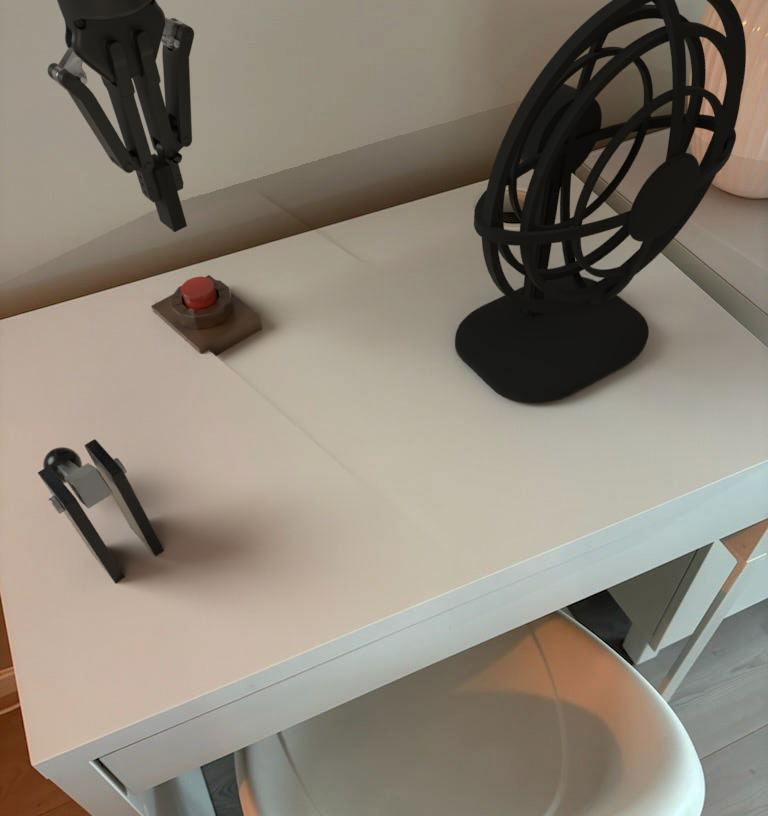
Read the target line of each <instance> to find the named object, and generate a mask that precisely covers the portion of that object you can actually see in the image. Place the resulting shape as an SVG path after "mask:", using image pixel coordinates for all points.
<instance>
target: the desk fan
mask: <svg viewBox="0 0 768 816" xmlns="http://www.w3.org/2000/svg"><path fill="white" fill-rule="evenodd" d="M706 1H707V2H708V4H710V5H711V6H712V8H713V9H714V10H715V12H716V13H717V15H718V17H719V19H720V22H721V24H722V26H723V29H724V32H725V35H724V34H723V33H722V32H720V31H718V30H717V29H715V28H713V27H710V26H708V25H705V24H704V23H700V22H696V21H690V20H689V19H688V18H686V17H685V16H684V15H683V14H681V13H680V10H679V6H678V4H677V2H676V0H610V1H609V2H608V3H606V4H605V5H603V6H602V7H601V8H600V9H599V10H597V11H596V12H594V14H592V15H591V16H590V17H589V18H588V19H586V21H584V22H583V23H582V24H581V25H580V26H579V27H578V28H577V29H576V30H575V31H574V32H573V33H572V34H571V35H570V36H569V37H568V39H567V40H566V41H565V42H564V43H563V44H562V45H561V46H560V47H559V48H558V50H557V51H556V52H555V53H554V54H553V55H552V57H551V58H550V59H549V61H548V62H547V63H546V65H545V66H544V68H542V70H541V71H540V73H539V74H538V76H537V77H536V79H535V80H534V82H533V83H532V85H531V86H530V88H529V90H528V91H527V92H526V94H525V95H524V97H523V99H522V101H521V103H520V104H519V106H518V108H517V110H516V112H515V113H514V115H513V117H512V119H511V121H510V124H509V126H508V127H507V130H506V132H505V134H504V136H503V138H502V140H501V143H500V146H499V149H498V151H497V153H496V156H495V159H494V162H493V165H492V168H491V171H490V174H489V178H488V182H487V186H486V190H484V192H483V193H482V194H481V196H480V197H479V198H478V200H477V202H476V204H475V206H474V213H473V228H474V230H475V232H476V234H477V235H478V236H479V237H481V247H482V253H483V258H484V263H485V267H486V269H487V271H488V274H489V276H490V279H491V280H492V282H493V284H494V285H495V287H496V288H497V289H498V290H499V291H500V292H501V293H502V294H503V295H502V296H501V297H498V298H496V299H493V300H492V301H490V302H488V303H487V302H486V303H485V304H482V305H481V306H479V307H477V308H476V309H474V310H473V311H471V312H470V313H469V314H467V315H466V316H465V317H464V318H463V320H462V321H461V322H460V323H459V324H458V326H457V329H456V332H455V334H454V335H455V336H454V349H455V352H456V353H457V356H458V357H459V358H460V359H461V361H462V362H463V363H464V364H466V365H467V366H468V367H469V368H470V369H471V370H472V371H473V372H474V373H475V374H476V375H477V376H478V377H479V378H480V379H481V380H482V381H483V382H484V383H485V384H486V385H487V386H488V387H489V388H490V389H491V390H493V392H495V393H496V394H498V395H500V396H501V397H503V398H505V399H508V400H509V401H514V402H519V403H523V404H524V403H526V404H543V403H550V402H555V401H558V400H561V399H565V398H567V397H569V396H572V395H573V394H576V393H578V392H580V391H581V390H584V389H585V388H587V387H589V386H591V385H593V384H594V383H597V382H598V381H601V380H602V379H604V378H606V377H608V376H610V375H612V374H614V373H615V372H617V371H619V370H621V369H623V368H625V367H627V366H628V365H629V364H631V363H633V361H635V360H636V359H637V358H638V357H639V356H640V355H641V353H643V351H644V350H645V347H646V344H647V343H648V338H649V334H650V333H649V332H650V330H649V325H648V322H647V320H646V318H645V317H644V315H642V313H641V312H639V311H638V309H636V308H634V307H633V306H632V305H631V304H629V303H628V302H627V301H625V300H624V299H622V298H621V297H620V296H619V294H620V293H621V292H623V291H624V289H625V288H626V287H627V286H628V285H629V284H630V283H631V281H632V280H633V279H634V277H635V276H636V275H637V274H639V273H640V272H641V271H642V270H643V269H645V268H646V267H647V266H649V264H651V263H652V262H653V261H654V259H656V258H657V257H658V256H659V255H660V254H661V253H662V252H663V251H664V250H665V248H667V246H668V245H669V244H670V243H671V242H672V241H673V240H674V238H676V236H677V235H678V234H679V233H680V231H681V230H682V229H683V228H684V226H685V225H686V224H687V223H688V221H689V220H690V219H691V217H692V216H693V214H694V213H695V211H696V210H697V208H698V207H699V205H700V204H701V202H702V201H703V199H704V197H705V196H706V195H707V192H708V190H709V189H710V187H711V185H712V183H713V181H714V179H715V178H716V176H717V174H718V173H720V171H721V170H722V169H723V168H724V167H725V165H726V164H727V163H728V161H729V159H730V157H731V156H732V152H733V150H734V146H735V144H736V140H737V132H736V130H735V128H736V124H737V121H738V116H739V112H740V106H741V101H742V99H741V98H742V93H743V88H744V81H745V75H746V66H747V65H746V64H747V45H746V35H745V29H744V26H743V25H744V24H743V22H742V19H741V16H740V13H739V11H738V9H737V7H736V6H735V4H734V3H733V0H706ZM650 3H651V4H650ZM652 3H653V4H652ZM649 19H654V20H655V19H656V20H657V19H658V20H663V24H664V25H662V26H660V27H658V28H656V29H655V28H654V29H653V30H651V31H649V32H647V33H645V34H643V35H641V36H640V37H638V38H637V39H635V40H633V41H632V42H631V43H629V44H627V46H625V47H620V46H604V44H605V42H606V40H607V37H608V36H609V34H610V33H612V32H614V31H615V30H617V29H620V28H622V27H624V26H626V25H628V24H632V23H634V22H638V21H642V20H649ZM701 38H704V39H706V40H708V41H709V42H710V43H711V44H712V45H713V46H714V47H715V48H716V50H717V51H718V53H719V55H720V58H721V59H722V62H723V66H724V70H725V71H724V72H725V78H726V80H725V81H726V84H725V90H724V94H723V101H722V102H721V101H720V98H718V96H717V95H716V94H715V93H713V92H711V91H710V90H708V89H705V87H706V77H707V75H706V74H707V73H706V72H707V71H706V70H707V69H706V68H707V67H706V57H705V50H704V46H703V43H702V40H701ZM665 43H669V50H670V59H671V74H672V75H671V78H672V79H671V81H672V88H671V89H669V90H667V91H664V92H663V93H661V94H659V95H658V96H656V97H654V88H653V87H654V86H653V81H652V80H653V79H652V75H651V73H650V70H649V67H648V66H647V63H646V62H645V61H644V60H643V59H642V56H644V55H645V54H646V53H648V52H650V51H652V50H653V49H656V48H657V47H659V46H661V45H663V44H665ZM603 46H604V47H603ZM686 47H687V50H688V53H689V59H690V67H691V82H690V83H691V84H690V85H687V55H686V53H687V52H686ZM587 50H588V52H587V53H585V52H586V51H587ZM584 53H585V54H584ZM581 55H582V56H581ZM608 57H611V58H610V59H609V60H608V61H606V63H605V64H604V65H603V66H602V67H601V68H600V69H599V70H598V71H597V72H596V73H595V74H594V75H593V72H594V68H595V67H596V63H597V61H598V60H600V59H603V58H608ZM632 63H633V64H634V66H636V69H637V70H638V72H639V74H640V78H641V81H642V86H643V87H642V88H643V105H642V107H640V108H639V109H638V110H637V111H636V112H635V113H634V114H633V115H632V116H630V117H629V119H628V120H627V121H623V122H620V123H616V124H613V125H609V126H605V127H602V123H603V122H602V120H603V116H602V114H603V113H602V108H601V105H600V104H599V102H598V100H597V99H596V98H597V97H598V96H599V95H600V94H601V92H602V91H603V90H604V89H605V88H606V87H607V86H608V84H610V83H611V82H612V81H613V80H614V79H615V78H616V77H617V76H618V75H619V74H620V73H622V72H623V71H624V70H625V69H626V68H627V67H629V66H630V65H631V64H632ZM580 70H581V72H580V74H579V75H580V76H579V79H578V82H577V86H576V88H575V87H574V86H571V85H569V84H567V83H565V82H567V81H568V80H569V79H570V78H571V77H573V76H574V75H575V74H576V73H577V72H579V71H580ZM592 75H593V76H592ZM686 97H689V100H688V105H687V109H685V107H686ZM704 99H705V100H706V101H707V102H708V103H709V105H710V107H711V109H712V112H713V115H709V114H702V113H701V110H702V106H703V101H704ZM668 103H671V114H663V115H662V114H661V115H655V116H652V114H653V113H654V112H656V111H657V110H658V109H660V108H662V107H663V106H665V105H667V104H668ZM685 110H686V113H685ZM664 128H669V135H668V143H667V150H666V156H665V161H664V162H663V163H661V164H660V165H659V166H657V168H656V169H654V171H653V172H652V173H651V174H650V175H649V176H648V178H647V179H646V180H645V181H644V182H643V184H642V186H641V187H640V189H639V191H638V192H637V194H636V196H635V198H634V200H633V202H632V205H631V208H630V210H628V211H625V212H621V213H619V214H616V215H612V216H610V217H606V218H603V219H599V220H595V221H591V222H587V223H584V222H583V221H584V220H585V219H587V218H588V217H589V216H591V214H594V212H596V211H597V210H598V209H599V208H600V207H601V206H602V205H604V203H605V202H606V201H607V200H608V199H609V198H610V197H611V196H612V194H613V193H614V192H615V191H616V190H617V188H618V187H619V185H620V184H621V183H622V182H623V180H624V179H625V177H626V176H627V174H628V173H629V171H630V169H631V168H632V166H633V164H634V162H635V160H636V158H637V156H638V155H639V152H640V150H641V148H642V145H643V143H644V141H645V138H646V136H647V132H648V130H654V129H655V130H656V129H664ZM696 128H697V129H702V130H705V131H710V132H712V136H711V138H710V140H709V143H708V145H707V148H706V150H705V152H704V155H703V157H702V159H701V161H700V162H699V161H698V159H697V157H696V156H695V155H693V154H692V153H688V152H687V151H688V149H689V146H690V144H691V142H692V139H693V136H694V133H695V132H696V131H695V130H696ZM636 132H637V133H636ZM632 133H636V135H635V138H634V141H633V142H632V146H631V147H630V148H631V149H630V150H629V152H628V154H627V156H626V158H625V160H624V162H623V163H622V165H621V166H620V169H618V171H617V173H616V174H615V176H614V177H613V179H612V180H611V181H610V183H609V184H608V185H607V186H606V188H605V189H604V190H603V191H602V192H601V194H599V195H598V196H597V197H596V198H595V200H593V201H592V202H591V203H590V204H589V200H590V198H591V196H592V193H593V191H594V188H595V186H596V184H597V183H598V181H599V179H600V176H601V175H602V173H603V170H605V168H606V166H607V164H608V163H609V161H610V159H611V158H612V157H613V156H614V154H615V153H616V151H617V150H618V149H619V147H620V146H621V145H622V144H623V142H624V141H625V140H626V139H627V137H628V136H629V135H631V134H632ZM607 139H610V140H609V142H608V143H607V144H606V145H605V148H604V149H603V150H602V152H601V153H600V154H599V156H598V158H597V159H596V161H595V163H594V164H593V167H592V168H591V170H590V172H589V174H588V175H587V178H586V180H585V182H584V184H583V186H582V189H581V191H580V194H579V197H578V199H577V202H576V206H575V209H574V213H573V216H572V217H571V187H572V175H573V173H575V172H576V171H577V170H579V168H580V167H581V166H582V165H583V164H584V163H585V161H586V160H587V159H588V158H589V156H590V154H591V153H592V152H593V149H594V147H595V145H596V143H597V142H601V141H604V140H607ZM521 161H522V162H521ZM532 170H533V172H532V175H531V178H530V181H529V184H528V186H527V190H526V193H525V197H524V200H523V206H522V208H521V206H520V202H519V196H518V179H519V178H521V177H522V176H523V175H525V174H527V173H528V172H530V171H532ZM506 188H507V189H506ZM506 190H507V191H508V198H509V199H508V200H509V203H510V205H511V209H512V211H513V214H515V216H516V218H517V219H518V220H519V221H520V223H519V230H511V229H506V228H505V224H504V223H505V222H504V203H505V197H506V196H505V194H506ZM588 204H589V205H588ZM558 206H559V222H556V219H557V211H558ZM583 223H584V224H583ZM618 228H619V229H618ZM614 229H617V231H616V232H614V234H613V235H612V236H610V237H609V238H608V239H607V240H605V241H604V242H603V243H602V244H601V245H599V246H598V247H596V248H595V249H593V250H592V251H591V252H589V253H588V254H586V255H584V253H583V247H582V238H587V237H590V236H593V235H597V234H601V233H604V232H607V231H611V230H614ZM629 236H630V237H631V239H633V240H635V241H636V242H641V244H640V247H639V248H638V250H636V251H635V252H634V253H633V254H632V255H631V256H630V257H629V258H627V259H626V260H625V261H624V262H623V263H622V264H621V265H619V266H616V267H612V268H605V269H602V268H596V267H593V265H595V264H596V263H598V262H599V261H601V260H602V259H604V258H605V257H606V256H608V255H609V254H610V253H612V252H613V251H614V250H615V249H616V248H618V247H619V246H620V245H621V244H622V243H623V242H624V241H626V239H628V238H629ZM557 243H561V249H562V256H563V261H564V265H561V266H558V267H552V268H549V264H550V257H551V250H552V245H553V244H557ZM510 246H513V247H514V246H515V247H516V246H517V247H519V253H520V258H521V262H520V261H518V259H517V258H516V257H515V256H514V254H513V252H512V251H511V248H510ZM500 255H501V256H500ZM500 257H502V258H503V260H504V261H505V262H506V263H507V264H508V265H509V266H510V267H512V268H513V269H514V271H516V272H518V274H520V275H523V276H524V279H523V286H521V287H520V288H517V289H514V288H513V286H512V285H511V284H510V283H509V281H508V279H507V277H506V275H505V273H504V269H503V267H502V263H501V258H500ZM582 271H586V272H587V273H588V274H589V275H592V276H594V277H596V278H601V279H600V280H598V281H597V280H595V279H593V278H590V277H585V276H582V275H581V272H582Z"/></svg>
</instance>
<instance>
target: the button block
mask: <svg viewBox="0 0 768 816" xmlns="http://www.w3.org/2000/svg"><path fill="white" fill-rule="evenodd" d="M205 277H207V278H209V279H211V280H212V281H213V283H214V286H215V290H216V294H217V301H216V303H215V304H213V305H211V306H210V307H208V308H204V309H198V310H195V309H190V308H188V307H187V306H186V304H185V301H184V298H183V295H182V292H181V287H182V285H180V286H177V287H178V288H176V290H175V291H174V293H172V294H170V295H169V296H166V297H165V298H163V299H161V300H160V301H158V302H157V301H156V303H154V304H152V305H150V307H151V310H152V312H153V313H154V314H155V315H156V316H157V317H158V318H160V319H161V320H162V321H163V322H164V323H165V324H166V325H168V327H170V329H172V330H173V331H174V332H175V333H176V334H177V335H179V336H180V337H181V338H182V339H183V340H184V341H186V343H187V344H188V345H190V346H191V347H192V348H193V349H194V350H195V351H197V353H199V355H202V354H204V353H206V352H208V351H209V352H210V353H212V354H213V355H214V356H215V357H218V356H219V355H221V354H223V353H224V352H226V351H228V350H229V349H232V348H233V347H235V346H237V345H238V344H240V343H241V342H243V341H245V340H247V339H249V338H250V337H252V336H253V335H256V334H257V333H259V332H260V331H262V330H263V327H262V321H261V318H260V313H258V312H257V311H256V310H254V309H253V308H252V307H250V306H249V305H248V304H247V303H245V301H243V300H241V299H240V298H239V297H238V296H237V295H235V294H234V293H233V292H232V291H231V290H230V287H229V286H228V285H226V283H224V282H223V281H221V280H219V279H215V278H214V277H212V276H211V275H210V274H208V275H206V276H205Z"/></svg>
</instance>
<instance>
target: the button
mask: <svg viewBox="0 0 768 816" xmlns="http://www.w3.org/2000/svg"><path fill="white" fill-rule="evenodd" d="M181 286H182V287H181V292H182V295H183V298H184V301H185V304H186V306H187V307H188V308H190V309H195V310H198V309H204V308H208V307H210V306H211V305H213V304H215V303H216V301H217V294H216V290H215V286H214V283H213V281H212V280H211V279H209V278H207V277H206V276H195V277H191V278H189V279H188V280H186V281H184V282H183V284H181Z"/></svg>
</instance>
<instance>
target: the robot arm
mask: <svg viewBox="0 0 768 816" xmlns="http://www.w3.org/2000/svg"><path fill="white" fill-rule="evenodd" d="M56 2H57V4H58V8H59V10H60V12H61V16H62V17H63V20H64V24H65V25H64V26H65V32H64V33H65V34H64V41H65V45H66V46H67V49H66V50H65V53H64V54H63V56H62V58H61V59H60V61H59V62H58V63H57V62H52V63H50V64H49V65H48V67H47V74H48V76H49V77H50V79H52V80H53V81H54V82H56V83H57V84H58V85H59V86H60V87H62V88H63V89H64V90H65V91H67V93H68V94H69V96H70V97H71V99H72V101H73V103H74V104H75V106H76V108H77V109H78V110H79V112H80V113H81V115H82V117H83V119H84V120H85V121H86V123H87V124H88V126H89V128H90V129H91V131H92V133H93V135H94V136H95V138H96V139H97V141H98V142H99V144H100V146H101V147H102V149H103V150H104V152H105V154H106V155H107V156H108V158H109V160H110V161H111V162H112V163H113V164H114V165H115V166H117V167H118V168H120V169H121V170H122V171H123V172H125V173H127V174H132V173H133V172H134V171H135V173H136V177H137V180H138V183H139V186H140V189H141V192H142V194H143V195H144V196H145V197H146V199H148V200H149V201H151V202H152V203H153V204H154V205H155V208H156V211H157V215H158V219H159V221H160V222H161V223H162V224H164V225H165V226H166V227H167V228H169V229H170V230H171V231H172V232H174V233H176V232H178V231H180V230H182V229H185V228H186V227H188V223H187V220H186V216H185V214H184V210H183V206H182V203H181V199H180V196H179V191H180V190H183V189H184V180H183V175H182V171H181V168H180V165H179V164H180V163H181V162H182V160H183V155H182V153H180V151H181V150H182V149H183V148H188V147H190V146H191V145H192V142H193V128H192V126H193V125H192V100H191V76H190V74H191V73H190V55H191V51H192V48H193V47H192V46H193V43H194V38H195V30H194V29H193V27H191V26H189V25H188V24H186V23H184V22H183V21H180V20H179V19H177V18H176V17H171V18H169V17H166V15H165V12H164V9H162V7H161V6H160V5H159V3H158V2H157V0H56ZM161 43H162V50H161V51H162V53H161V54H162V56H161V57H162V70H163V87H164V90H163V91H164V96H163V93H162V89H161V85H160V84H161V75H160V73H159V68H158V65H157V57H158V54H159V50H160V47H161ZM83 63H84V64H85V65H86V66H88V67H89V68H90V69H91V70H93V71H94V72H95V73H96V74H97V75H99V76H100V78H101V81H102V84H103V85H104V87H105V89H106V91H107V93H108V96H109V101H110V102H111V106H112V108H113V109H112V110H113V112H114V115H115V118H116V121H117V124H118V127H119V131H120V134H121V137H122V139H121V137H120V136H119V134H118V132H117V131H116V129H115V127H114V125H113V124H112V122H111V121H110V119H109V117H108V115H107V114H106V113H105V110H104V109H103V107H102V106H101V104H100V102H99V101H98V99H97V98H96V96H95V94H94V93H93V91H92V90H91V89H90V88H89V87H88V86H87V84H88V77H87V73H86V72H85V71H84V69H83ZM135 93H136V94H137V97H138V98H137V99H138V101H139V105H140V108H141V111H142V114H143V119H144V121H145V124H146V125H145V126H146V128H147V132H148V135H149V138H150V142H151V145H152V148H153V150H154V151H156V153H152V152H151V148H150V145H149V141H148V139H147V138H148V137H147V134H146V131H145V127H144V125H143V122H142V118H141V115H140V111H139V108H138V105H137V101H136V97H135Z"/></svg>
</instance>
